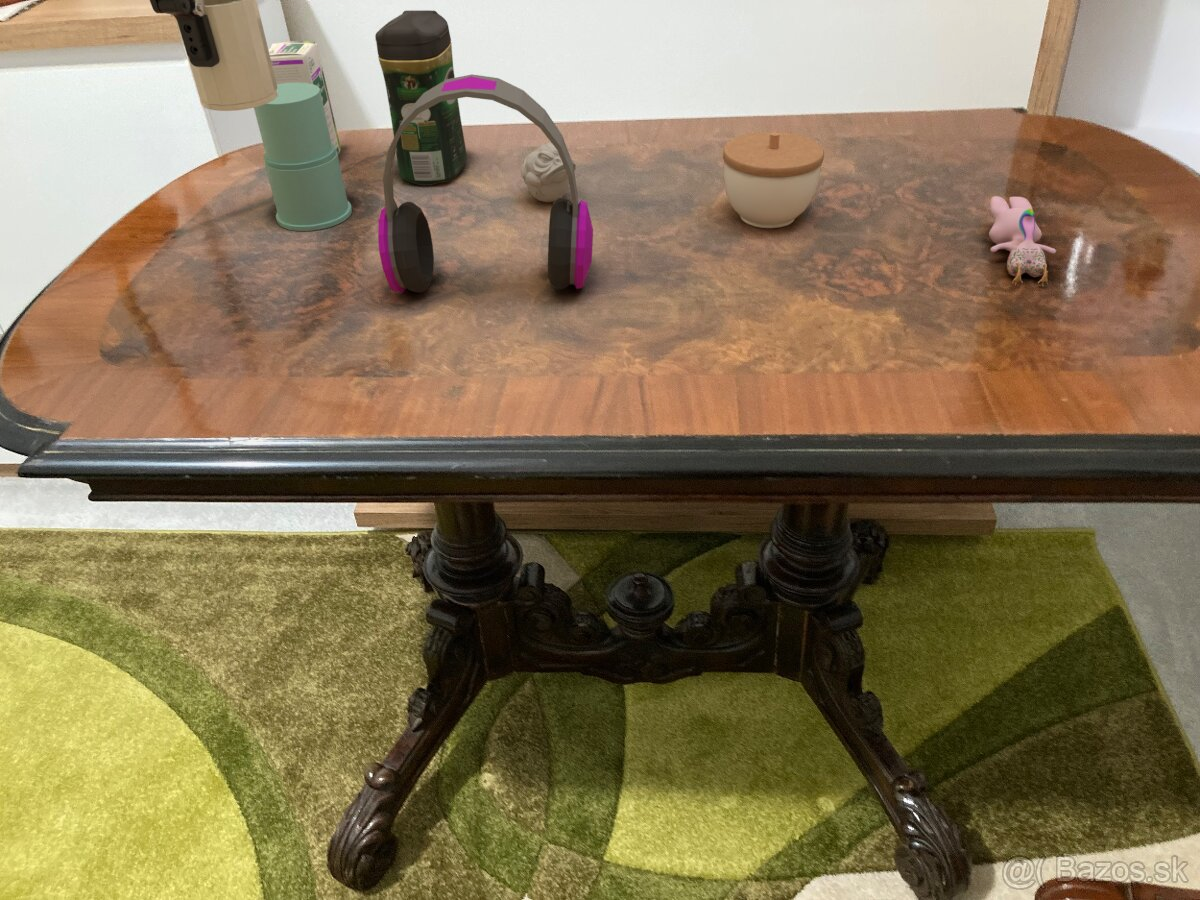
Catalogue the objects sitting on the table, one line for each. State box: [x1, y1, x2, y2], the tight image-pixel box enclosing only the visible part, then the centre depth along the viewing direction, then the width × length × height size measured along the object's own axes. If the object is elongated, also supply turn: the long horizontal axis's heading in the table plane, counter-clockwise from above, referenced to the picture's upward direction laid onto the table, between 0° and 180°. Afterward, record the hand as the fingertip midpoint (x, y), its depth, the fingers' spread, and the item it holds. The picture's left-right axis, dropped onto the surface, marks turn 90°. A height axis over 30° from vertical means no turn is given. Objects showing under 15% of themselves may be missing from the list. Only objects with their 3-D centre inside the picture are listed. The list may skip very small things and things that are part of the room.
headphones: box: [377, 73, 594, 294], centre depth 86 cm, size 21×9×20 cm, turn 90°
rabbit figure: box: [988, 195, 1057, 287], centre depth 93 cm, size 6×6×15 cm
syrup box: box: [268, 40, 342, 155], centre depth 115 cm, size 6×6×14 cm
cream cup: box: [174, 0, 278, 112], centre depth 76 cm, size 6×6×8 cm
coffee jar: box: [374, 9, 468, 186], centre depth 111 cm, size 10×8×19 cm
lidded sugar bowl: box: [722, 131, 825, 229], centre depth 100 cm, size 11×11×9 cm
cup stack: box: [253, 83, 353, 232], centre depth 103 cm, size 9×9×14 cm
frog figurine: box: [520, 141, 577, 203], centre depth 106 cm, size 6×7×7 cm
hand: (227, 52), depth 76 cm, fingers closed on cream cup, 6 cm apart
